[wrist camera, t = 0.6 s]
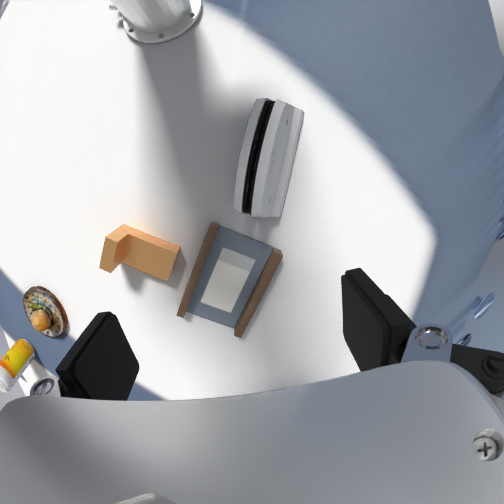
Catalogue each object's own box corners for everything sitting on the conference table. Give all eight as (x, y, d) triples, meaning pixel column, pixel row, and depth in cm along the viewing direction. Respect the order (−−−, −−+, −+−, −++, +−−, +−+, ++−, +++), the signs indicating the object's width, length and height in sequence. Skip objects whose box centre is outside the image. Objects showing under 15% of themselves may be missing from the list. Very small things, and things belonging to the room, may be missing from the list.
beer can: (18, 333, 49) (-13, 368, 35) (36, 345, 50) (6, 384, 36) (19, 348, 51) (-9, 383, 37) (36, 360, 52) (9, 398, 38)
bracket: (117, 251, 43) (99, 267, 37) (124, 223, 42) (105, 236, 35) (171, 273, 45) (160, 293, 38) (180, 246, 43) (170, 263, 37)
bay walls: (179, 307, 47) (176, 315, 45) (211, 222, 42) (209, 226, 40) (240, 329, 49) (240, 338, 46) (280, 250, 44) (282, 256, 42)
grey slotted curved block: (280, 218, 42) (263, 231, 33) (250, 210, 43) (226, 221, 34) (304, 110, 37) (293, 91, 28) (273, 104, 38) (253, 85, 29)
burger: (23, 280, 45) (3, 296, 38) (63, 291, 46) (43, 310, 39) (33, 326, 48) (17, 344, 41) (72, 339, 50) (57, 360, 43)
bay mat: (186, 310, 47) (185, 311, 47) (219, 225, 42) (219, 226, 42) (233, 327, 49) (233, 328, 48) (273, 247, 44) (273, 248, 43)
